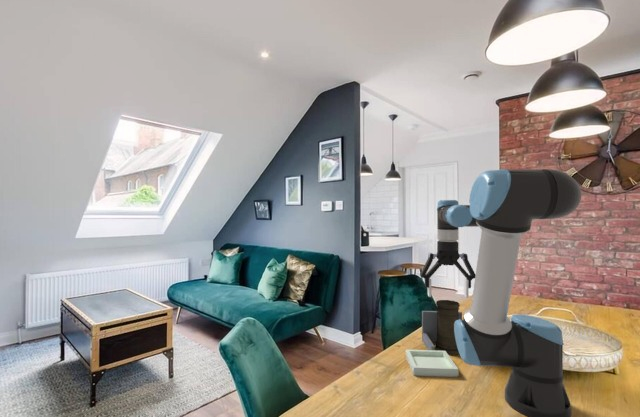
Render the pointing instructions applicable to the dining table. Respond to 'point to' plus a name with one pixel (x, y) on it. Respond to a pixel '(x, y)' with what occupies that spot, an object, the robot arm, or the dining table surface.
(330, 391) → the dining table surface
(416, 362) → the tray
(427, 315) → the dock
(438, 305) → the container
